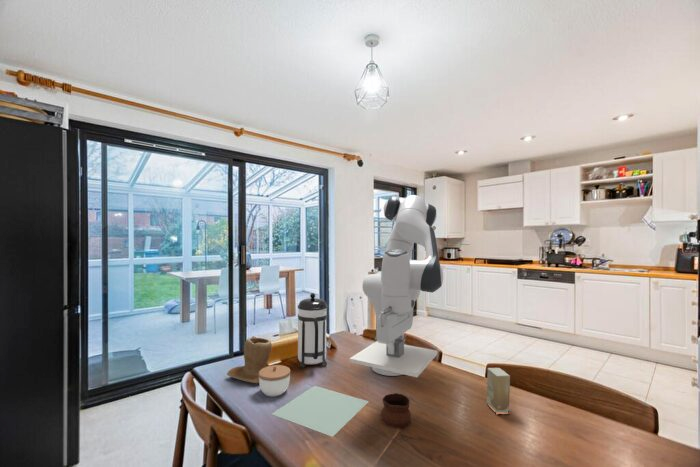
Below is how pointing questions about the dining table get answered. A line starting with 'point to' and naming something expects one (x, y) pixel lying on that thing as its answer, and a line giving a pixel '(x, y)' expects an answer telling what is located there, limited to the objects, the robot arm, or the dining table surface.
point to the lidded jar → (274, 380)
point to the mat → (321, 410)
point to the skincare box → (498, 389)
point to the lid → (396, 358)
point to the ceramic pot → (396, 411)
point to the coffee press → (312, 331)
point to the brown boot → (252, 360)
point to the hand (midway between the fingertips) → (395, 350)
